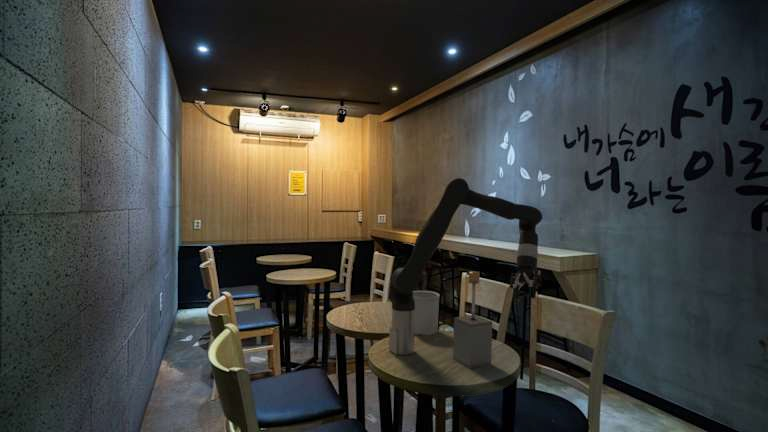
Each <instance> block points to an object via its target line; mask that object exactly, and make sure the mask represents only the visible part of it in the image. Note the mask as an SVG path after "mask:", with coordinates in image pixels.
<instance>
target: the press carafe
mask: <svg viewBox="0 0 768 432" xmlns="http://www.w3.org/2000/svg"><path fill="white" fill-rule="evenodd" d="M471 316H472V314H471V315H463V316H457V317H454V318H453V322H454V324H453V351H452V352H453V353H452V354H453V360H455V361H456V362H458V363H460V364H461V365H463V366H465V367H467V368H468V369H471V368H472V369H473V368H478V367H482V366H488V365H492V350H493V347H492V346H493V343H492V341H493V340H492V339H493V321H492V320H489V319H487V318H484V317H481V316H479V315H476V314H475V320H474V321H472V320H471Z"/></svg>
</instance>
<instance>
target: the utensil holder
mask: <svg viewBox="0 0 768 432" xmlns="http://www.w3.org/2000/svg"><path fill="white" fill-rule="evenodd" d="M413 298H414V301H415V328H414V333H416V334H415V335H417V334H422V335H421V336H431V335H432V336H433V335H436V333H438V330H439V329H438V328H439V308H440V307H439V305H440V304H439V303H440V298H441V297H440V294H439V293H438V292H436V291H430V290H414V291H413Z"/></svg>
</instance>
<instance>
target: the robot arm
mask: <svg viewBox="0 0 768 432" xmlns="http://www.w3.org/2000/svg"><path fill="white" fill-rule="evenodd" d="M461 205H464V206H469V207H472V208H476V209H480V210H482V211H483V212H486V213H490V214H493V215H495V216H498V217H500V218H503V219H505V220H509V221H512V220H518V229H519V231H518V232H519V239H518V240H519V241H518V248H517V254H516V263H515V265H516V266H515V267H516V269H517V272H516V273H514V272H511V275H510V281H509V288H511V289H512V291H513V292H512V298H513V299H514V300H517V301H519V299H520V289H521V288H522V287H523V286H524V285H525V284H529V295H528V298H530V299H536V296H537V289H538V287H541V286H542V281H543V280H542V278H543V277H542V275H543V274H542V273H543V272H542V270H540V269H538V257H539V256H538V255H539V251H538V247H539V245H538V244H539V234H538V233H537V231H536V227H537V226H538V225H539V223H541V222H542V221H543V214H542V211H540V209H538V208H537V207H534V206H531V205H525V204H520V203H515V202H512V201H508V200H507V199H504V198H501V197H497V196H492V195H487V194H482V193H479V192H476V191H474V190H472V189H470V187H469V184H468V183H467V181H466V180H465V179H464V178H461V177H455V178H452V179H451V180H450V181H449V182H447V184H446V186H445V188H444V192H443V194H442V197H441V199H440V200H439V202H438V204H437V206H436V207H435V208H434V210H433V211H432V212H431V214H430V215H429V216H428V218H427V220H426V221H425V222H424V224H423V225H422V228H421V229H420V230H419V233H418V234H417V236H416V239H415V242H414V245H413V250H412V253H411V256H410V258H409V260H408V261H407V263H406V264H405V266H404V267H398V268H396V269H395V270H394V271H393V273H392V274H391V276H390V277H391V279H390V302H391V326H389V330H388V331H389V334H388V335H389V337H388V338H389V339H388V343H389V344H388V350H389V351H390V352H391V353H393V354H394V355H396V356H397V355H398V356H399V355H402V356H407V355H412V354H413V353H415V334H414V328H415V301H414V298H413V291H416V289H417V286H418V285H419V284H420V283H419V282H420V280H421V278H422V276H423V274H424V272H425V270H426V267H427V265H428V263H429V262H430V261H431V258H432V257H433V255H434V253H435V252H436V250H437V249H438V247H439V246H440V244H441V242H442V241H443V239H444V237H445V235H446V233H447V231H448V228H449V226H450V224H451V222H452V220H453V217H454V214H455V213H456V211H457V210H458V209H459V207H460V206H461Z"/></svg>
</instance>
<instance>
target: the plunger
mask: <svg viewBox="0 0 768 432" xmlns="http://www.w3.org/2000/svg"><path fill="white" fill-rule="evenodd" d="M480 275H481V274H480V271H477V270H476V271H473V270H469V271H468V284H471V285H472V286H471V315H472V316H471V315H470V316H471V320H472V321H474V320H475V315H476V313H475V312H476V286H477V285H476V284H480Z"/></svg>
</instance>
